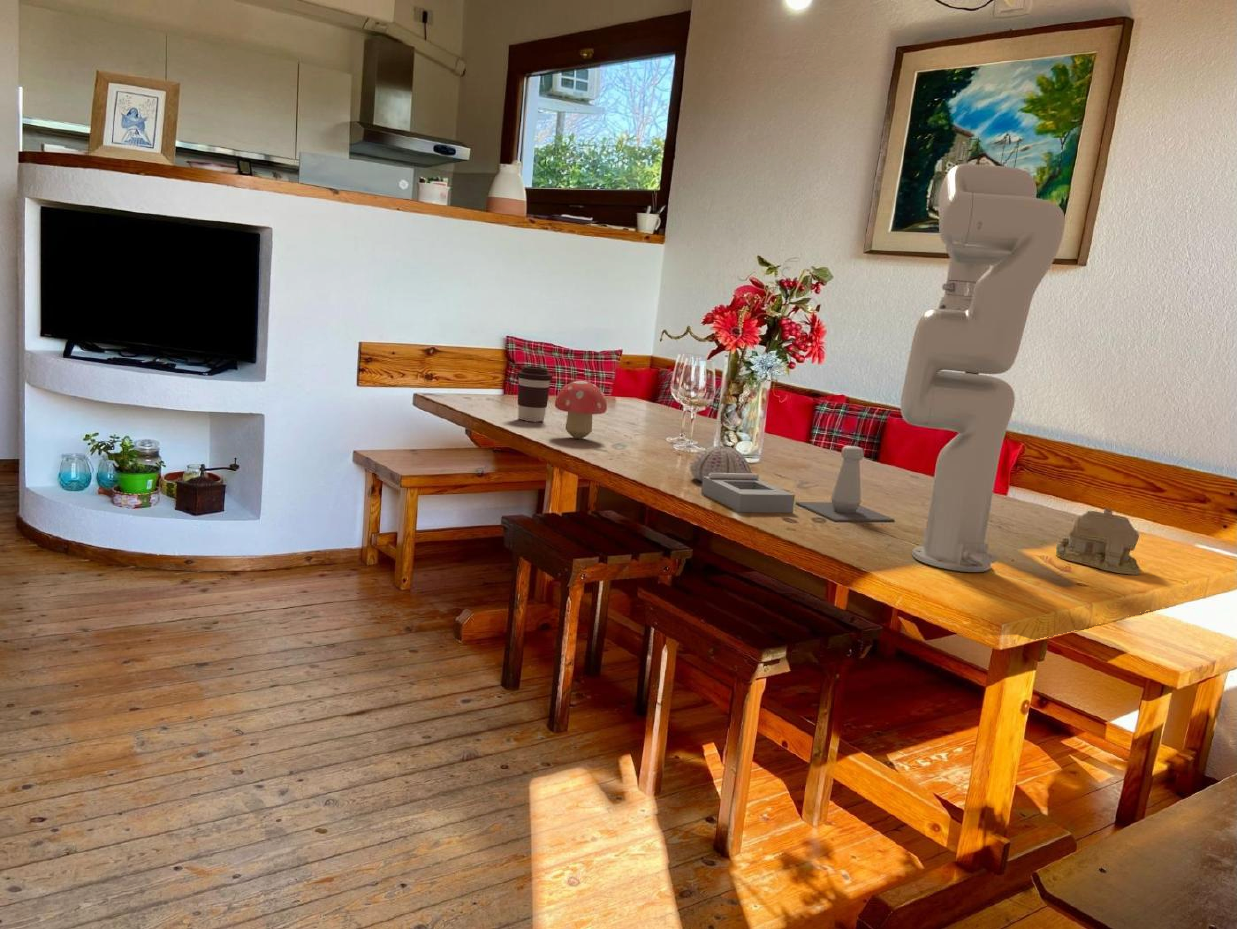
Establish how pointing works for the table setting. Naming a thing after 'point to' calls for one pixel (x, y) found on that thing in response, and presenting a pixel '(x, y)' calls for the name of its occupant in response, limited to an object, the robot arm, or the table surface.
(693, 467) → the sea urchin shell
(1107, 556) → the ceramic model
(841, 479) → the salt shaker
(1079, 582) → the table surface
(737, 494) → the caddy
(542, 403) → the coffee cup
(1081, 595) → the table surface
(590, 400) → the decorative mushroom
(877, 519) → the mat
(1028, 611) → the table surface
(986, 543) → the robot arm
